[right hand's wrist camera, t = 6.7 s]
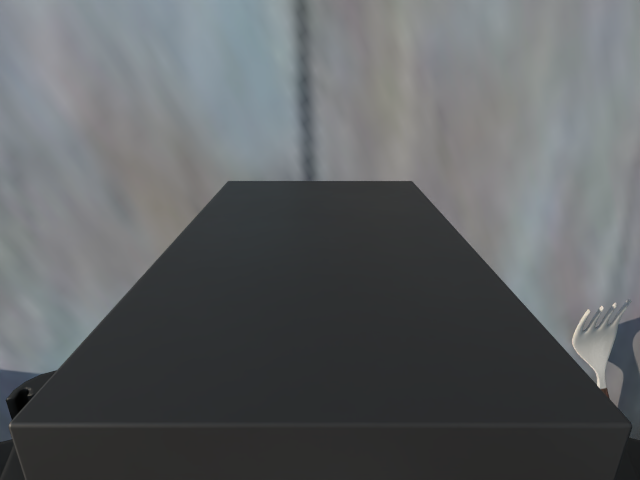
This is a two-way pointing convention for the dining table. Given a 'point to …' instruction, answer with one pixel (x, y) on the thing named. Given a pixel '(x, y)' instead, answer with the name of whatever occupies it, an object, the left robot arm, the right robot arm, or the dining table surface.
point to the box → (320, 357)
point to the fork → (598, 341)
